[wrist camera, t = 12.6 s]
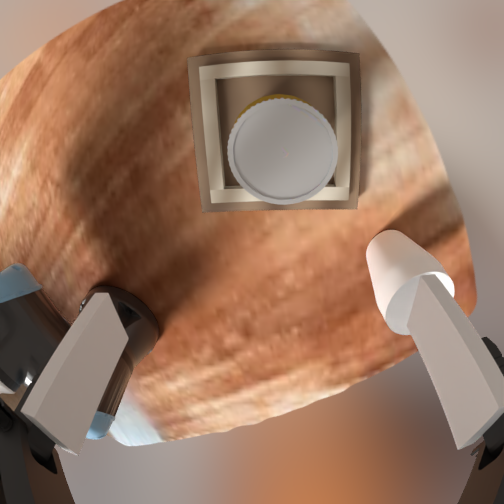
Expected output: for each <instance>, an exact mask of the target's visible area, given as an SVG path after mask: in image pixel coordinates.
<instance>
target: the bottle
mask: <svg viewBox="0 0 504 504" xmlns="http://www.w3.org/2000/svg"><path fill="white" fill-rule="evenodd" d="M229 137H230V138H229V140H228V146H227V149H228V152H227V155H228V161H229V166H230V168H231V171H232V173H233V175H234V177H235V178H236V180H237V182H238V183H239V184H240V185H241V186H242V187H243V188H244V189H245V190H246V191H247V192H248V193H250V194H251V195H253V196H254V197H256V198H258V199H260V200H262V201H265V202H268V203H272V204H280V205H287V204H295V203H299V202H302V201H305V200H307V199H309V198H311V197H313V196H314V195H316V194H317V193H318V192H320V191H321V190H322V189H323V188H324V187H325V186H326V184H327V183H328V182H329V180H330V179H331V177H332V175H333V173H334V171H335V168H336V165H337V160H338V146H337V141H336V136H335V134H334V130H333V129H332V128H331V125H330V124H329V123H328V120H327V119H325V118H324V117H323V114H320V113H319V111H318V110H316V109H315V108H314V107H313V106H312V105H311V104H309V103H308V102H306V101H304V100H302V99H300V98H298V97H295V96H292V95H283V94H274V95H269V96H264V97H261V98H259V99H257V100H255V101H254V102H252V103H250V104H249V105H247V106H246V107H245V109H244V110H243V111H242V112H241V113H240V114H239V115H238V117H237V119H236V121H235V123H234V126H233V128H232V130H231V134H230V135H229Z"/></svg>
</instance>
